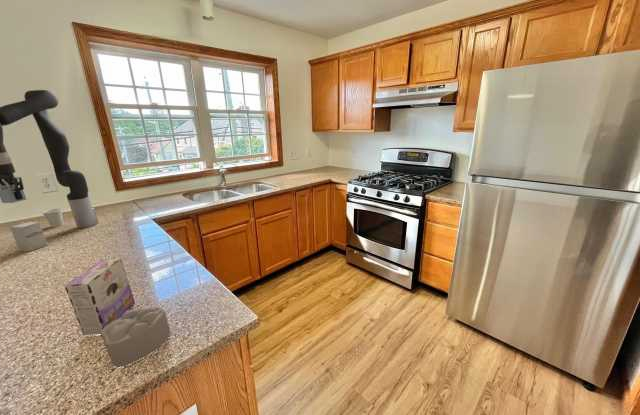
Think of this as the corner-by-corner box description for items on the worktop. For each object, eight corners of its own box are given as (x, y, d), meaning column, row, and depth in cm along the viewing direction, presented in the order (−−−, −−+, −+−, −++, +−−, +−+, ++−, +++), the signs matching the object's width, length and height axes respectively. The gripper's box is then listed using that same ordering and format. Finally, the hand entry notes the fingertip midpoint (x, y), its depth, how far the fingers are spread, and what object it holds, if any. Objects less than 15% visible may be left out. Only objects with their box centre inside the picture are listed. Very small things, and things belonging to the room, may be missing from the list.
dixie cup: (65, 226, 159) (59, 210, 156) (46, 229, 155) (40, 213, 152) (68, 222, 166) (62, 207, 163) (50, 225, 162) (44, 210, 158)
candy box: (116, 304, 84) (101, 258, 79) (136, 303, 84) (122, 257, 79) (83, 338, 70) (62, 285, 65) (106, 335, 71) (87, 283, 66)
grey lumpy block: (106, 350, 66) (96, 322, 63) (162, 321, 75) (155, 296, 73) (117, 374, 59) (106, 344, 57) (177, 339, 69) (169, 311, 66)
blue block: (17, 199, 125) (12, 187, 124) (26, 199, 125) (21, 187, 123) (2, 202, 120) (-4, 190, 118) (12, 202, 120) (7, 190, 118)
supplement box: (30, 251, 126) (20, 227, 122) (19, 251, 127) (8, 226, 123) (48, 245, 133) (39, 221, 129) (37, 244, 134) (28, 221, 130)
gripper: (22, 161, 120) (36, 197, 125) (-3, 162, 122) (11, 197, 127) (1, 164, 113) (17, 201, 118) (-26, 165, 115) (-9, 202, 120)
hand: (14, 199), depth 122 cm, fingers closed on blue block, 5 cm apart
